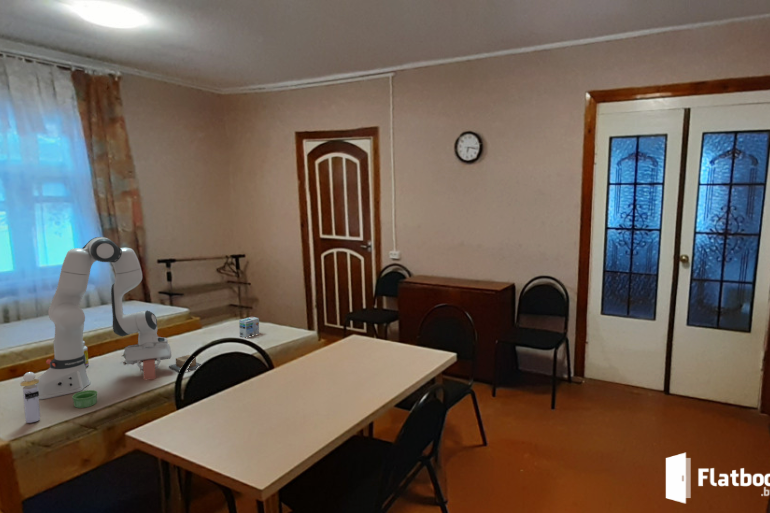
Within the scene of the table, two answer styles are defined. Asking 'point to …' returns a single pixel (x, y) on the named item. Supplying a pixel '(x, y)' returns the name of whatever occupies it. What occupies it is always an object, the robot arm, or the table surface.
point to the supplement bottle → (85, 354)
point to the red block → (149, 369)
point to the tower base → (181, 361)
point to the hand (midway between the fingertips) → (149, 368)
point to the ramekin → (85, 398)
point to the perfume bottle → (31, 397)
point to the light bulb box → (249, 326)
